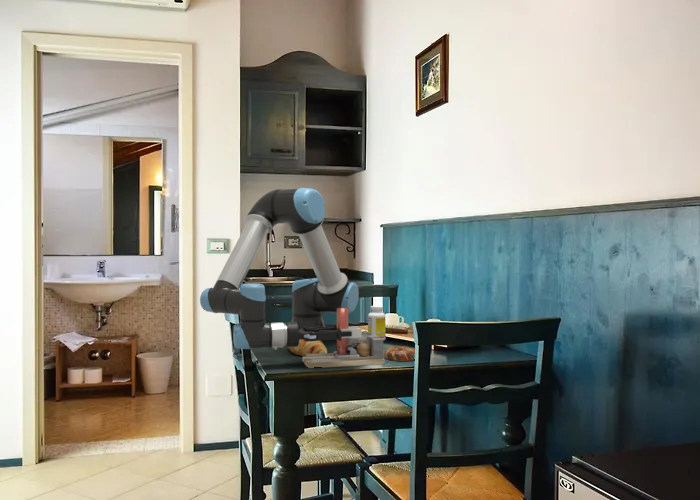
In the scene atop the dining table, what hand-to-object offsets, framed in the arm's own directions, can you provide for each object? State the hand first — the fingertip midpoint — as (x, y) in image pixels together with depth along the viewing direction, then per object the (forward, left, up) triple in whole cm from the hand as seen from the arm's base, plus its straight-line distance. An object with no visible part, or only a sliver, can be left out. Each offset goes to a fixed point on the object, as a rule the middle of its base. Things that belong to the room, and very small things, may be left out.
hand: (359, 331), depth 188 cm
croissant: (-17, -14, -10) cm, 24 cm away
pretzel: (-3, +15, -10) cm, 18 cm away
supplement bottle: (-37, +17, -10) cm, 42 cm away
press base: (0, -5, -10) cm, 11 cm away
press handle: (0, -4, -8) cm, 9 cm away
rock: (-19, +6, -10) cm, 22 cm away
